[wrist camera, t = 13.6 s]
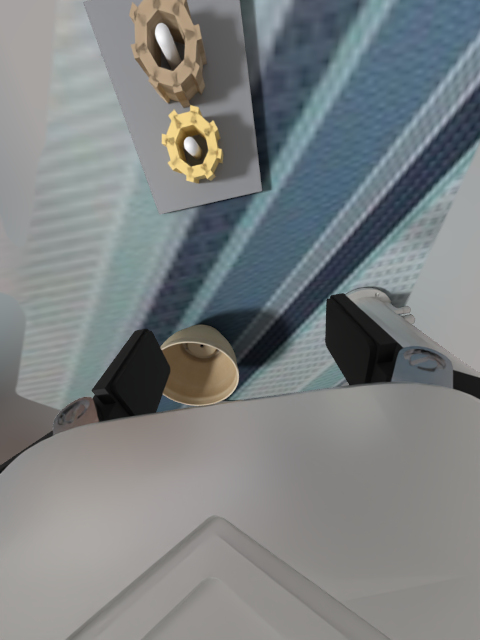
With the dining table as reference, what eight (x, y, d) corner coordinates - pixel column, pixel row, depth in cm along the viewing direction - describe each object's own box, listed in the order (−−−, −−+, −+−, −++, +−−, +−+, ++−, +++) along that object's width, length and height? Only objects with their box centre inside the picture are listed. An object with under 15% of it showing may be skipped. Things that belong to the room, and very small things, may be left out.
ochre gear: (215, 113, 26) (212, 99, 22) (227, 176, 29) (226, 174, 26) (164, 126, 26) (153, 115, 23) (182, 187, 30) (174, 186, 26)
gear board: (234, -33, 21) (233, -121, 15) (260, 191, 32) (266, 190, 26) (91, 13, 23) (40, -52, 17) (162, 213, 33) (146, 218, 27)
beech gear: (179, -1, 21) (166, -44, 17) (217, 78, 24) (214, 57, 20) (134, 53, 23) (114, 25, 19) (175, 121, 26) (165, 108, 22)
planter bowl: (239, 310, 43) (240, 343, 33) (237, 367, 51) (237, 405, 42) (160, 309, 42) (139, 341, 33) (171, 366, 50) (157, 405, 41)
